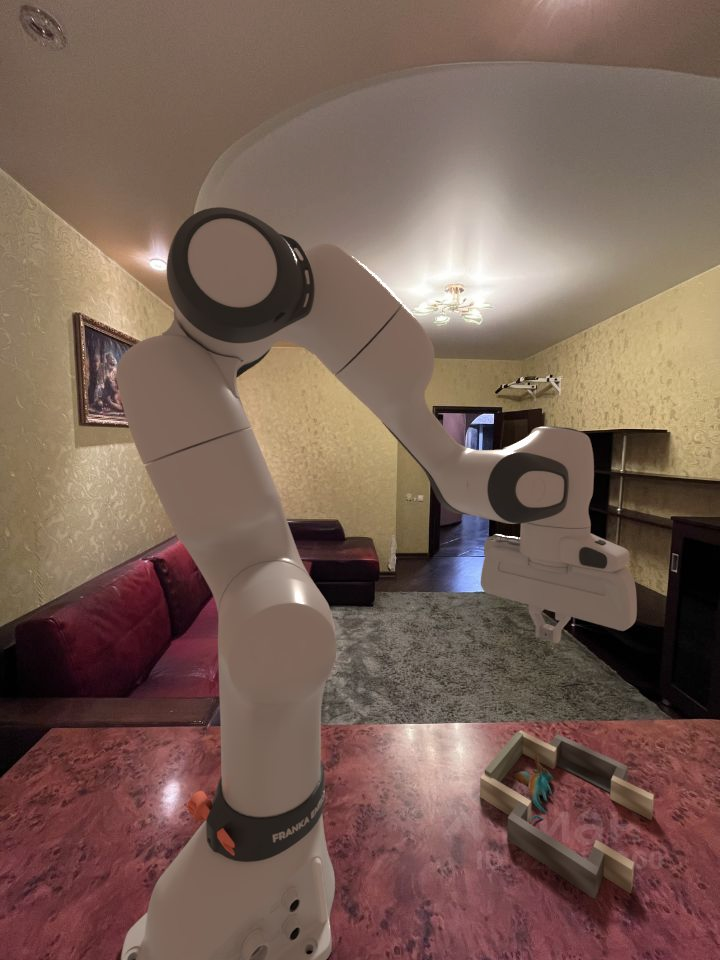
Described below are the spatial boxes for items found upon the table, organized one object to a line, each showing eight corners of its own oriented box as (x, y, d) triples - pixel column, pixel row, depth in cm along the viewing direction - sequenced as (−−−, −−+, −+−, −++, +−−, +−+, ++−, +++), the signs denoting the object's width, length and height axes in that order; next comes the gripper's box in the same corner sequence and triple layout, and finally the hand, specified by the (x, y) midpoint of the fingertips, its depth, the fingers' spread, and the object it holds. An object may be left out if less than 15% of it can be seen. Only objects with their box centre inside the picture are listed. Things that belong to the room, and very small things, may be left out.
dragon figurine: (588, 819, 56) (559, 757, 63) (546, 810, 54) (521, 748, 61) (559, 841, 59) (535, 780, 66) (518, 833, 57) (497, 771, 64)
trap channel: (657, 799, 60) (658, 777, 60) (623, 919, 44) (625, 889, 44) (528, 736, 73) (528, 717, 73) (467, 811, 58) (468, 788, 57)
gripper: (475, 534, 62) (471, 622, 63) (632, 561, 48) (624, 675, 49) (494, 529, 67) (490, 612, 67) (643, 553, 52) (636, 657, 53)
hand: (547, 639), depth 58 cm, fingers closed
